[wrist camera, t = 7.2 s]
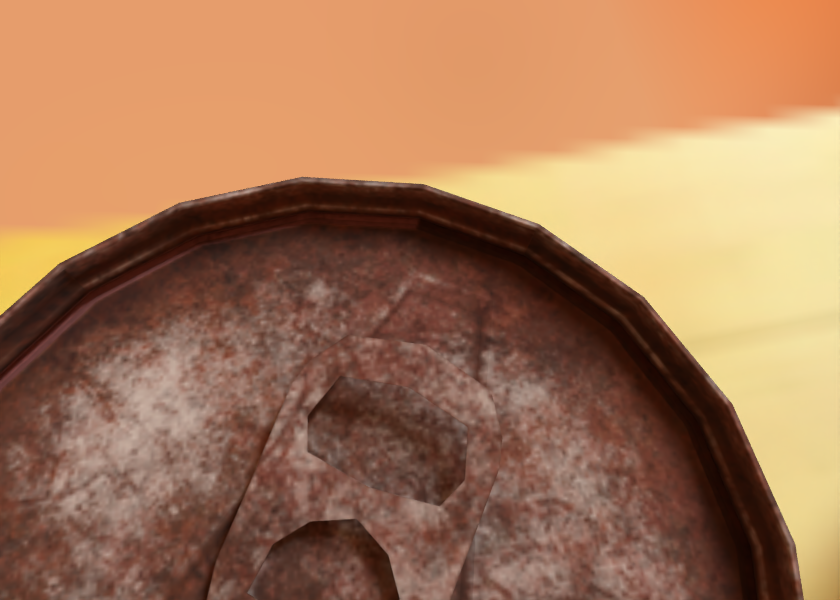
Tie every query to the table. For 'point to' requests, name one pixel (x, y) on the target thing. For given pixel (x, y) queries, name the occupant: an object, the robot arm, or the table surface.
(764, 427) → the table surface
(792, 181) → the table surface
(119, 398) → the can
